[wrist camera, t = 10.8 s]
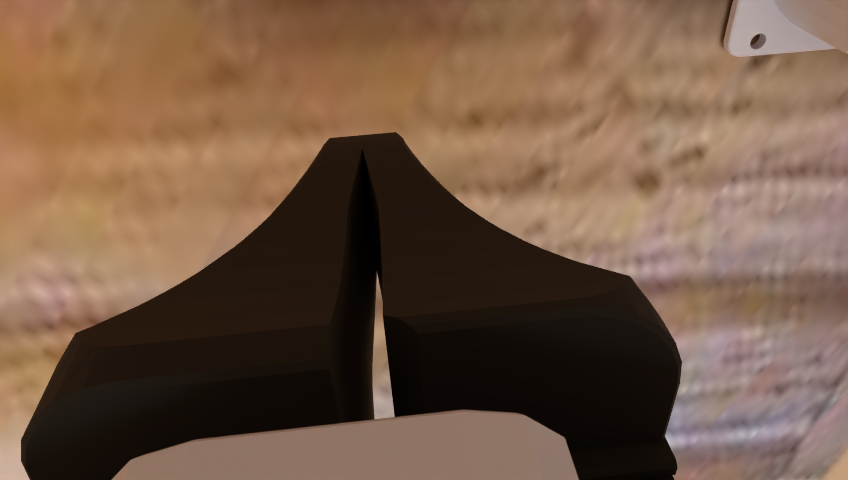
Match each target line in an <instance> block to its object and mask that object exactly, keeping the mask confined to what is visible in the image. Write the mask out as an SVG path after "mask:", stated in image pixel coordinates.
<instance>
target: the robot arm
mask: <svg viewBox="0 0 848 480" xmlns="http://www.w3.org/2000/svg"><path fill="white" fill-rule="evenodd" d="M757 34H760V37H759V39H758V41H757V42H756V43H755V44H753V45H750V42H751V40H752V38H753V37H754V36H755V35H757ZM724 48H725V50H726V51H727V52H728V53H730V54H731V55H733V56H735V57H745V56H757V55H769V54H780V53H792V52H804V51H816V50H828V49H838V50H840V51H842V52H844V53H846V54H847V55H848V0H733V3H732V7H731V12H730V16H729V20H728V24H727V29H726V33H725V37H724ZM377 274H378V279H379V284H380V289H381V294H382V300H383V320H384V329H385V337H386V346H387V354H388V363H389V371H390V380H391V388H392V397H393V405H394V414H395V417H392V418H383V419H374V405H373V388H372V361H373V340H374V320H375V300H376V278H377ZM681 366H682V361H681V358H680V355H679V352H678V349H677V346H676V343H675V341H674V339H673V338H672V336H671V334H670V332H669V331H668V329H667V327H666V326H665V324H664V322H663V321H662V319H661V317H660V316H659V314H658V313H657V312H656V310H655V309H654V307H653V306H652V304H651V303H650V301H649V300H648V299H647V298H646V296H645V295H644V294H643V293H642V291H641V290H640V289H639V288H638V287H637V285H636V284H635V282H634V281H633V279H632V278H631V277H630V276H627V275H624V274H620V273H616V272H613V271H609V270H605V269H602V268H598V267H594V266H591V265H587V264H583V263H580V262H577V261H574V260H571V259H568V258H565V257H563V256H560V255H557V254H555V253H552V252H549V251H547V250H544V249H542V248H539V247H537V246H535V245H532V244H530V243H528V242H526V241H523V240H522V239H520V238H518V237H516V236H514V235H512V234H510V233H508V232H506V231H504V230H502V229H500V228H499V227H497V226H495V225H493V224H492V223H490V222H488V221H487V220H485V219H484V218H482V217H481V216H479V215H478V214H476V213H475V212H473V211H472V210H470V209H469V208H467V207H466V206H465V205H464V204H462V203H461V202H460V201H459V200H458V199H456V198H455V197H454V196H453V195H452V194H451V193H450V192H448V191H447V190H446V189H445V188H444V187H443V186H442V185H441V184H440V183H439V182H438V181H437V180H436V179H435V178H434V177H433V176H432V175H431V174H430V173H429V171H428V170H427V169H426V168H425V167H424V166H423V165H422V164H421V163H420V161H419V160H418V159H417V158H416V156H415V155H414V154H413V153H412V151H411V150H410V149H409V147H408V146H407V144H406V143H405V141H404V140H403V138H402V137H401V136H400V135H399V134H398V133H396V132H394V133H383V134H371V135H360V136H349V137H337V138H329V139H328V141H327V142H326V143H325V144H324V146H323V147H322V149H321V150H320V152H319V153H318V155H317V156H316V158H315V159H314V161H313V162H312V164H311V165H310V167H309V168H308V170H307V171H306V172H305V174H304V175H303V176H302V178H301V179H300V180H299V182H298V183H297V184H296V186H295V187H294V188H293V190H292V191H291V192H290V193H289V195H288V196H287V197H286V198H285V199H284V200H283V201H282V203H281V204H280V205H279V206H278V207H277V208H276V209H275V210H274V212H273V213H272V214H271V215H270V216H269V217H268V218H267V219H266V220H265V221H264V222H263V223H262V224H261V225H260V226H259V227H258V228H256V229H255V230H254V231H253V232H252V233H251V234H249V235H248V236H247V237H246V238H245V239H244V240H243V241H241V242H240V243H239V244H238V245H236V246H235V247H234V248H232V249H231V250H229V251H228V252H227V253H225V254H224V255H222V256H221V257H220V258H218V259H217V260H215V261H214V262H212V263H211V264H210V265H208V266H207V267H205V268H204V269H203V270H201V271H200V272H198V273H197V274H195V275H193V276H192V277H190V278H188V279H187V280H185V281H183V282H182V283H180V284H178V285H177V286H175V287H173V288H171V289H169V290H167V291H166V292H164V293H162V294H160V295H158V296H156V297H155V298H153V299H151V300H149V301H147V302H145V303H143V304H141V305H139V306H137V307H135V308H132V309H130V310H128V311H126V312H123V313H121V314H119V315H117V316H114V317H112V318H110V319H108V320H106V321H103V322H101V323H99V324H97V325H94V326H92V327H90V328H87V329H85V330H82V331H80V332H77V333H75V335H74V337H73V338H72V340H71V342H70V343H69V345H68V347H67V349H66V350H65V352H64V354H63V355H62V357H61V359H60V361H59V362H58V364H57V366H56V368H55V370H54V373H53V375H52V377H51V379H50V381H49V383H48V385H47V387H46V389H45V391H44V394H43V396H42V398H41V400H40V402H39V404H38V406H37V408H36V410H35V412H34V414H33V416H32V418H31V420H30V422H29V425H28V427H27V429H26V431H25V433H24V435H23V437H22V439H21V462H22V464H23V466H24V468H25V470H26V472H27V475H28V477H29V479H30V480H674V478H673V476H672V475H675V474H676V471H677V463H676V459H675V457H674V455H673V452H672V450H671V448H670V446H669V444H668V442H667V440H666V438H665V433H666V430H667V426H668V423H669V419H670V416H671V412H672V409H673V405H674V402H675V398H676V395H677V391H678V388H679V384H680V377H681Z"/></svg>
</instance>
